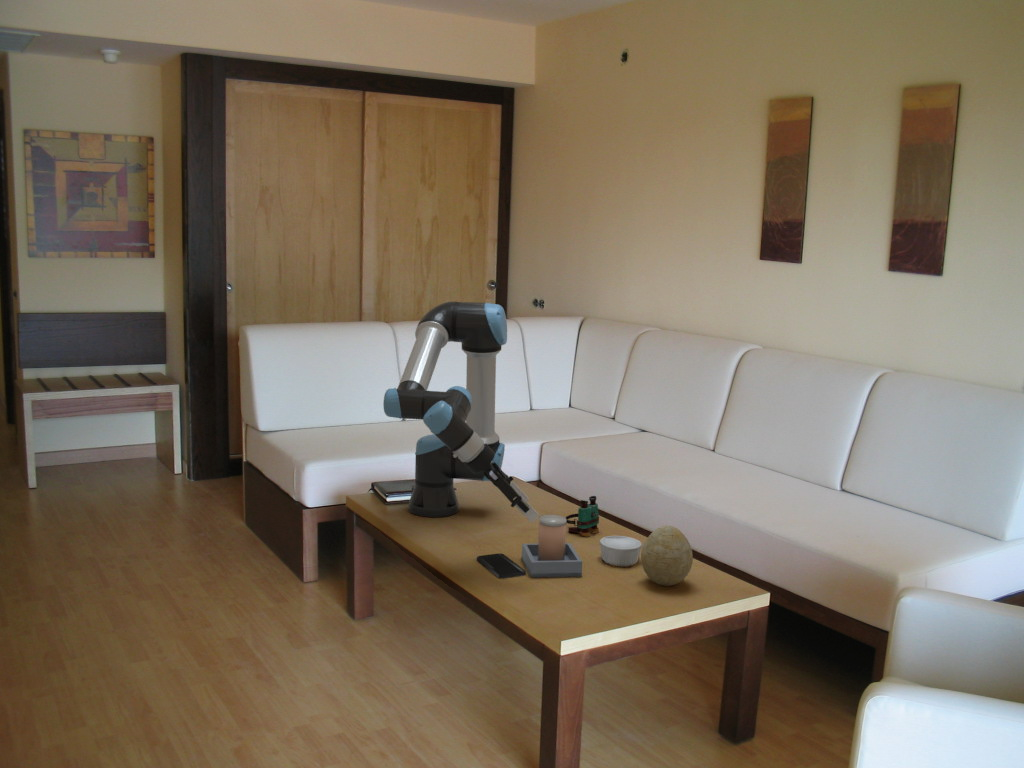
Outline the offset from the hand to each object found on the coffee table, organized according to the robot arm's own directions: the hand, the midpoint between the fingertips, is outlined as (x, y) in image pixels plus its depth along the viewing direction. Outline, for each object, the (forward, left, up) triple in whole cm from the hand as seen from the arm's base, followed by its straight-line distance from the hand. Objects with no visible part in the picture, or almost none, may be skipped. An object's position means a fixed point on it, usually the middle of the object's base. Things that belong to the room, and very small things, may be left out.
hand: (530, 510), depth 242 cm
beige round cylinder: (-1, +6, -15) cm, 16 cm away
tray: (-1, +6, -16) cm, 17 cm away
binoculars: (-29, +21, -16) cm, 39 cm away
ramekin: (-5, +26, -16) cm, 31 cm away
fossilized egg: (+12, +33, -16) cm, 38 cm away
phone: (-2, -7, -16) cm, 18 cm away
